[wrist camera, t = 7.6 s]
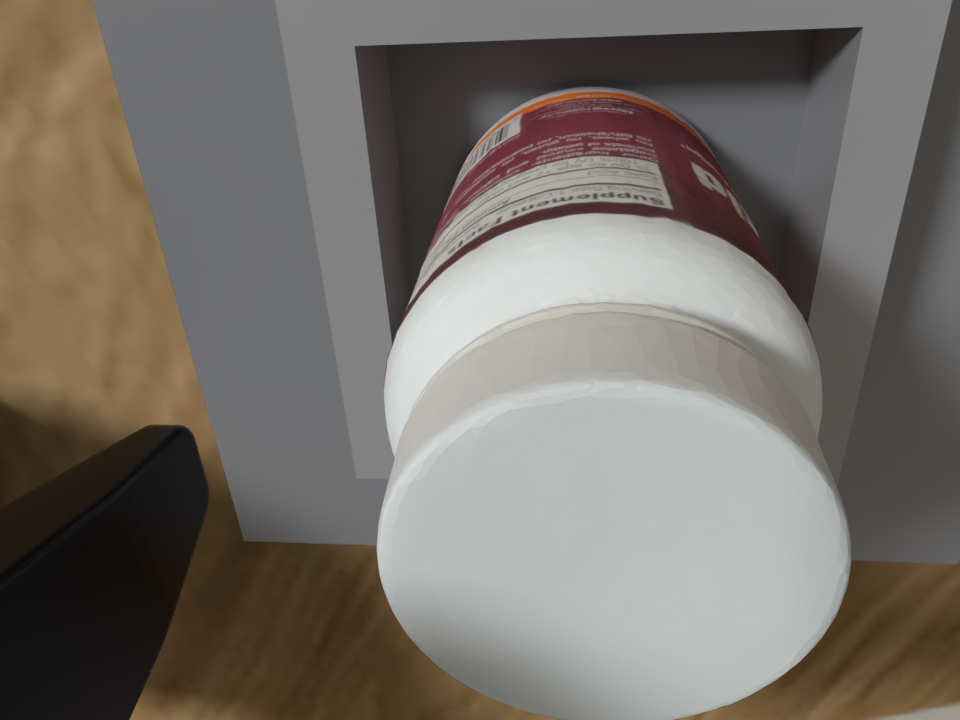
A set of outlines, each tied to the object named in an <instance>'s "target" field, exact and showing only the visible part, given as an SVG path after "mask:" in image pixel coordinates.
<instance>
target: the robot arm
mask: <svg viewBox="0 0 960 720" xmlns="http://www.w3.org/2000/svg"><path fill="white" fill-rule="evenodd" d="M208 504H209V486H208V482H207V479H206V475H205V472H204V468H203V465H202V462H201V458H200V455H199V452H198V448H197V445H196V441H195V438H194V436H193V434H192V432H191V431H190V430H189V429H188V428H187V427H185V426H182V425H149V426H146V427H144V428H142V429H140V430H138V431H136V432H135V433H133V434H131V435H129V436H127V437H126V438H124V439H122V440H120V441H119V442H117V443H115V444H113V445H111V446H110V447H108V448H106V449H104V450H102V451H101V452H99V453H97V454H95V455H93V456H92V457H90V458H88V459H86V460H84V461H83V462H81V463H79V464H77V465H75V466H74V467H72V468H70V469H68V470H66V471H65V472H63V473H61V474H59V475H58V476H56V477H54V478H52V479H50V480H49V481H47V482H45V483H43V484H41V485H40V486H38V487H36V488H34V489H32V490H31V491H29V492H27V493H25V494H23V495H22V496H20V497H18V498H16V499H14V500H13V501H11V502H9V503H7V504H5V505H4V506H2V507H0V720H129V719H130V717H131V715H132V713H133V711H134V708H135V706H136V704H137V702H138V699H139V697H140V695H141V693H142V690H143V688H144V686H145V684H146V681H147V679H148V677H149V675H150V672H151V670H152V668H153V666H154V663H155V661H156V659H157V657H158V654H159V652H160V649H161V647H162V645H163V642H164V640H165V637H166V635H167V632H168V629H169V626H170V624H171V621H172V618H173V615H174V612H175V609H176V606H177V603H178V599H179V596H180V593H181V590H182V587H183V584H184V581H185V578H186V575H187V571H188V568H189V565H190V562H191V559H192V556H193V553H194V550H195V546H196V543H197V540H198V537H199V534H200V531H201V528H202V525H203V521H204V518H205V515H206V512H207V508H208Z"/></svg>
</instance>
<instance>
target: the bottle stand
mask: <svg viewBox="0 0 960 720" xmlns="http://www.w3.org/2000/svg"><path fill="white" fill-rule="evenodd" d="M92 1H93V4H94V8H95V12H96V15H97V19H98V22H99V26H100V29H101V33H102V37H103V40H104V44H105V47H106V51H107V54H108V58H109V61H110V65H111V69H112V72H113V76H114V79H115V83H116V86H117V90H118V94H119V97H120V101H121V104H122V108H123V111H124V115H125V119H126V122H127V126H128V129H129V133H130V136H131V140H132V144H133V147H134V151H135V154H136V158H137V161H138V165H139V168H140V172H141V176H142V179H143V183H144V186H145V190H146V193H147V197H148V201H149V204H150V208H151V211H152V215H153V218H154V222H155V226H156V229H157V233H158V236H159V240H160V243H161V247H162V251H163V254H164V258H165V261H166V265H167V268H168V272H169V276H170V279H171V283H172V286H173V290H174V293H175V297H176V300H177V304H178V308H179V311H180V315H181V318H182V322H183V325H184V329H185V333H186V336H187V340H188V343H189V347H190V350H191V354H192V358H193V361H194V365H195V368H196V372H197V375H198V379H199V383H200V386H201V390H202V393H203V397H204V400H205V404H206V407H207V411H208V415H209V418H210V422H211V425H212V429H213V432H214V436H215V440H216V443H217V447H218V450H219V454H220V457H221V461H222V465H223V468H224V472H225V475H226V479H227V482H228V486H229V490H230V493H231V497H232V500H233V504H234V507H235V511H236V514H237V518H238V522H239V525H240V529H241V532H242V536H243V539H244V541H253V542H285V543H316V544H347V545H377V537H378V524H379V519H380V513H381V508H382V505H383V501H384V497H385V493H386V489H387V485H388V481H389V478H390V474H391V471H392V467H393V464H394V460H395V457H394V454H393V452H392V447H391V443H390V439H389V435H388V430H387V425H386V415H385V405H384V381H385V371H386V363H387V358H388V354H389V352H390V349H391V346H392V343H393V340H394V335H395V333H396V332H397V330H398V327H399V325H400V323H401V320H402V318H403V316H404V313H405V311H406V308H407V306H408V304H409V301H410V299H411V296H412V293H413V291H414V288H415V285H416V283H417V280H418V278H419V274H420V271H421V268H422V266H423V263H424V262H425V259H426V256H427V253H428V249H429V247H430V245H431V243H432V240H433V238H434V235H435V233H436V230H437V227H438V224H439V222H440V220H441V218H442V215H443V212H444V209H445V207H446V204H447V201H448V199H449V197H450V194H451V192H452V189H453V187H454V184H455V182H456V180H457V177H458V175H459V173H460V170H461V168H462V166H463V164H464V162H465V160H466V158H467V157H468V155H469V154H470V152H471V151H472V150H473V148H474V147H475V145H476V144H477V143H478V141H479V140H480V139H481V138H482V136H483V135H484V134H485V133H486V132H487V131H488V130H489V129H490V128H491V127H492V126H493V125H494V124H495V123H497V122H498V121H499V120H500V119H501V118H502V117H504V116H505V115H506V114H508V113H509V112H510V111H512V110H514V109H515V108H517V107H519V106H520V105H522V104H523V103H525V102H527V101H529V100H531V99H533V98H536V97H539V96H542V95H545V94H548V93H551V92H555V91H558V90H564V89H570V88H576V87H609V88H617V89H623V90H628V91H633V92H636V93H639V94H642V95H644V96H647V97H649V98H652V99H654V100H656V101H659V102H660V103H662V104H664V105H666V106H667V107H669V108H671V109H672V110H674V111H675V112H676V113H678V114H679V115H680V116H682V117H683V118H684V119H685V120H687V121H688V122H689V123H690V124H691V125H692V126H693V127H694V128H695V129H696V130H697V131H698V133H699V134H700V135H701V136H702V137H703V139H704V140H705V142H706V143H707V145H708V146H709V148H710V149H711V151H712V152H713V154H714V156H715V158H716V160H717V161H718V163H719V165H720V167H721V168H722V170H723V172H724V174H725V176H726V177H727V179H728V181H729V183H730V184H731V186H732V187H733V188H734V190H735V192H736V194H737V197H738V199H739V201H740V203H741V205H742V207H743V208H744V210H745V211H746V213H747V215H748V217H749V219H750V220H751V222H752V224H753V225H754V227H755V229H756V231H757V233H758V236H759V238H760V240H761V242H762V244H763V246H764V247H765V249H766V251H767V252H768V255H769V257H770V259H771V261H772V262H773V264H774V266H775V267H776V269H777V270H778V272H779V273H780V275H781V277H782V279H783V281H784V283H785V284H786V286H787V287H788V289H789V290H790V292H791V294H792V295H793V297H794V298H795V300H796V302H797V303H798V305H799V307H800V309H801V311H802V313H803V315H804V317H805V319H806V321H807V323H808V325H809V327H810V330H811V333H812V336H813V339H814V343H815V348H816V351H817V354H818V357H819V362H820V367H821V371H820V372H821V379H822V416H821V423H820V428H819V434H818V441H819V445H820V447H821V450H822V453H823V456H824V458H825V460H826V463H827V465H828V467H829V470H830V472H831V475H832V477H833V479H834V482H835V484H836V486H837V489H838V491H839V494H840V496H841V499H842V503H843V506H844V510H845V513H846V517H847V520H848V526H849V531H850V539H851V561H875V562H907V563H938V564H958V562H959V559H960V0H92Z"/></svg>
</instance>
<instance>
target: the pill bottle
mask: <svg viewBox="0 0 960 720" xmlns="http://www.w3.org/2000/svg"><path fill="white" fill-rule="evenodd" d="M820 371H821V367H820V362H819V357H818V354H817V351H816V348H815V343H814V339H813V336H812V333H811V330H810V327H809V325H808V323H807V321H806V319H805V317H804V315H803V313H802V311H801V309H800V307H799V305H798V303H797V302H796V300H795V298H794V297H793V295H792V294H791V292H790V290H789V289H788V287H787V286H786V284H785V283H784V281H783V279H782V277H781V275H780V273H779V272H778V270H777V269H776V267H775V266H774V264H773V262H772V261H771V259H770V257H769V255H768V252H767V251H766V249H765V247H764V246H763V244H762V242H761V240H760V238H759V236H758V233H757V231H756V229H755V227H754V225H753V224H752V222H751V220H750V219H749V217H748V215H747V213H746V211H745V210H744V208H743V207H742V205H741V203H740V201H739V199H738V197H737V194H736V192H735V190H734V188H733V187H732V186H731V184H730V183H729V181H728V179H727V177H726V176H725V174H724V172H723V170H722V168H721V167H720V165H719V163H718V161H717V160H716V158H715V156H714V154H713V152H712V151H711V149H710V148H709V146H708V145H707V143H706V142H705V140H704V139H703V137H702V136H701V135H700V134H699V133H698V131H697V130H696V129H695V128H694V127H693V126H692V125H691V124H690V123H689V122H688V121H687V120H685V119H684V118H683V117H682V116H680V115H679V114H678V113H676V112H675V111H674V110H672V109H671V108H669V107H667V106H666V105H664V104H662V103H660V102H659V101H656V100H654V99H652V98H649V97H647V96H644V95H642V94H639V93H636V92H633V91H628V90H623V89H617V88H609V87H576V88H570V89H564V90H558V91H555V92H551V93H548V94H545V95H542V96H539V97H536V98H533V99H531V100H529V101H527V102H525V103H523V104H522V105H520V106H519V107H517V108H515V109H514V110H512V111H510V112H509V113H508V114H506V115H505V116H504V117H502V118H501V119H500V120H499V121H498V122H497V123H495V124H494V125H493V126H492V127H491V128H490V129H489V130H488V131H487V132H486V133H485V134H484V135H483V136H482V138H481V139H480V140H479V141H478V143H477V144H476V145H475V147H474V148H473V150H472V151H471V152H470V154H469V155H468V157H467V158H466V160H465V162H464V164H463V166H462V168H461V170H460V173H459V175H458V177H457V180H456V182H455V184H454V187H453V189H452V192H451V194H450V197H449V199H448V201H447V204H446V207H445V209H444V212H443V215H442V218H441V220H440V222H439V224H438V227H437V230H436V233H435V235H434V238H433V240H432V243H431V245H430V247H429V249H428V253H427V256H426V259H425V262H424V263H423V266H422V268H421V271H420V274H419V278H418V280H417V283H416V285H415V288H414V291H413V293H412V296H411V299H410V301H409V304H408V306H407V308H406V311H405V313H404V316H403V318H402V320H401V323H400V325H399V327H398V330H397V332H396V333H395V335H394V340H393V343H392V346H391V349H390V352H389V354H388V358H387V363H386V371H385V381H384V405H385V415H386V425H387V430H388V435H389V439H390V443H391V447H392V452H393V454H394V457H395V460H394V464H393V467H392V471H391V474H390V478H389V481H388V485H387V489H386V493H385V497H384V501H383V505H382V508H381V513H380V519H379V524H378V537H377V558H378V567H379V575H380V579H381V582H382V586H383V589H384V592H385V595H386V597H387V600H388V602H389V605H390V607H391V609H392V611H393V613H394V615H395V617H396V618H397V620H398V621H399V623H400V624H401V626H402V627H403V629H404V630H405V632H406V633H407V635H408V636H409V638H410V639H411V640H412V641H413V642H414V643H415V644H416V645H417V647H418V648H419V649H420V650H421V651H422V652H423V653H424V654H425V655H426V656H427V657H428V658H430V659H431V660H432V661H433V662H434V663H435V664H436V665H437V666H438V667H439V668H440V669H441V670H443V671H444V672H446V673H447V674H449V675H450V676H452V677H453V678H455V679H456V680H458V681H459V682H461V683H463V684H464V685H466V686H468V687H470V688H471V689H473V690H475V691H477V692H479V693H481V694H483V695H485V696H487V697H490V698H492V699H495V700H497V701H500V702H502V703H504V704H506V705H508V706H510V707H512V708H517V709H520V710H524V711H528V712H532V713H536V714H539V715H543V716H547V717H551V718H557V719H563V720H674V719H679V718H684V717H688V716H692V715H696V714H699V713H703V712H706V711H711V710H714V709H717V708H719V707H721V706H724V705H729V704H732V703H735V702H737V701H739V700H741V699H743V698H746V697H748V696H750V695H751V694H753V693H755V692H757V691H759V690H761V689H762V688H763V687H765V686H767V685H769V684H770V683H772V682H774V681H776V680H777V679H778V678H780V677H781V676H783V675H784V674H785V673H786V672H788V671H789V670H790V669H791V668H792V667H794V666H795V665H796V664H797V663H799V662H800V661H801V660H802V659H803V658H804V657H805V656H806V655H807V654H808V653H809V652H810V651H811V650H812V649H813V648H814V647H815V646H816V644H817V643H818V642H819V641H820V640H821V638H822V637H823V636H824V634H825V632H826V631H827V629H828V627H829V626H830V625H831V623H832V622H833V620H834V619H835V617H836V615H837V613H838V610H839V608H840V606H841V604H842V601H843V598H844V595H845V592H846V589H847V586H848V580H849V575H850V569H851V539H850V531H849V526H848V520H847V517H846V513H845V510H844V506H843V503H842V499H841V496H840V494H839V491H838V489H837V486H836V484H835V482H834V479H833V477H832V475H831V472H830V470H829V467H828V465H827V463H826V460H825V458H824V456H823V453H822V450H821V447H820V445H819V441H818V434H819V428H820V423H821V416H822V379H821V372H820Z"/></svg>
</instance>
